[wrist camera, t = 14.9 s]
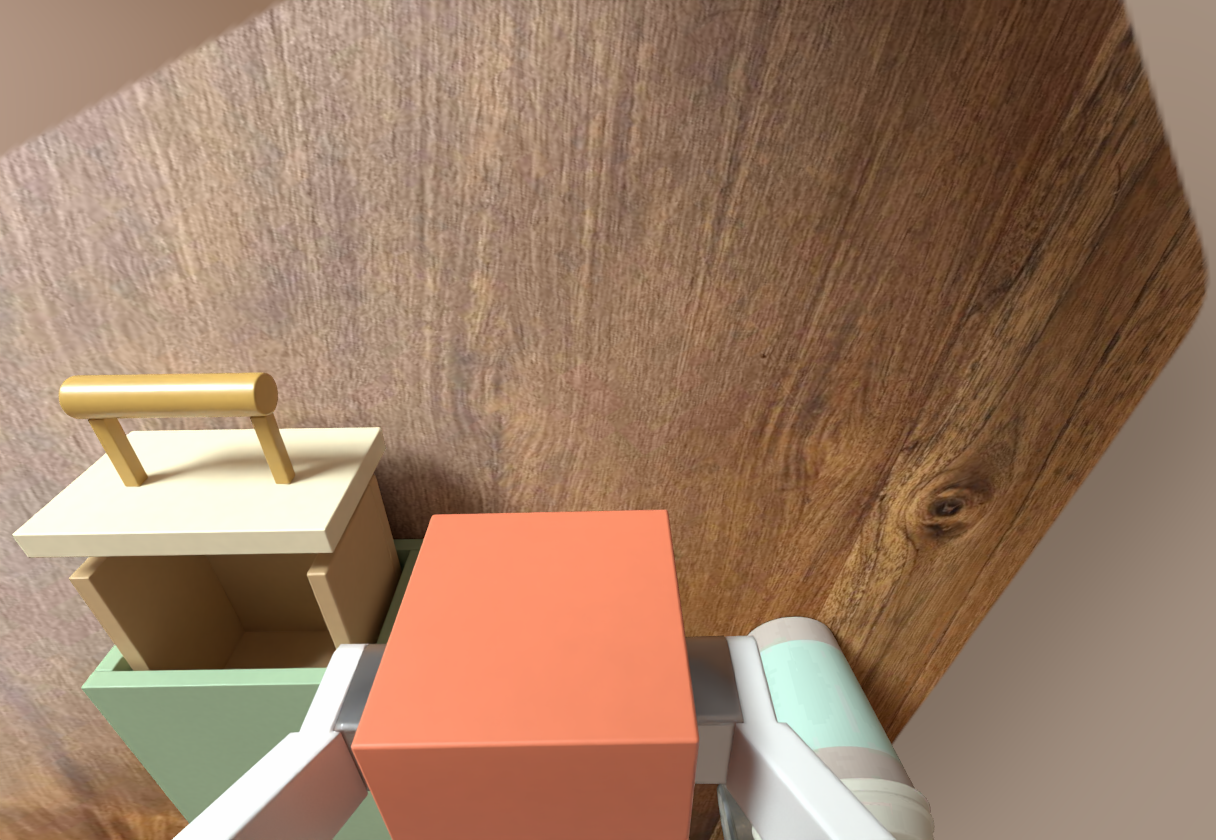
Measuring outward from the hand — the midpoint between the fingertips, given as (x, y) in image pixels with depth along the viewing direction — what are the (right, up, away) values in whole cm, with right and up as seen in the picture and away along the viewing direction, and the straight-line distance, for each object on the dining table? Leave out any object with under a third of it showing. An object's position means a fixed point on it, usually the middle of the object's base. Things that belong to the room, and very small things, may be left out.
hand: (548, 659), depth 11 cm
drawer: (-15, 0, +19) cm, 24 cm away
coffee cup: (+12, -10, +27) cm, 31 cm away
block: (0, +1, +1) cm, 2 cm away
